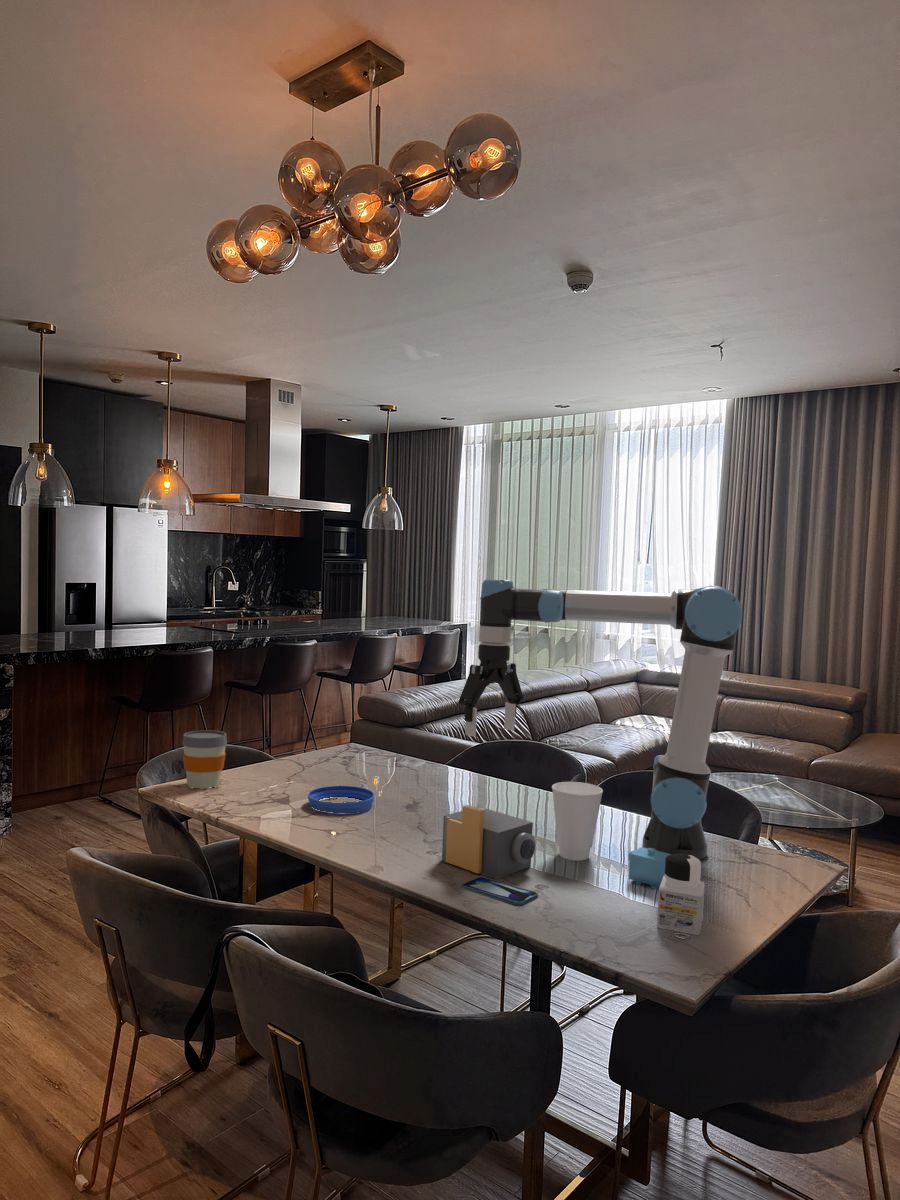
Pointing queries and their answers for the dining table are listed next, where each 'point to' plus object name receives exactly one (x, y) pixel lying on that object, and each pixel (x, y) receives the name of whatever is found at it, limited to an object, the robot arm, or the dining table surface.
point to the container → (681, 895)
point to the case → (503, 843)
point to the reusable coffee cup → (204, 757)
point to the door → (465, 839)
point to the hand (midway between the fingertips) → (490, 732)
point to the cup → (576, 817)
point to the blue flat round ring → (341, 791)
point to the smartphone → (500, 890)
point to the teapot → (647, 866)
